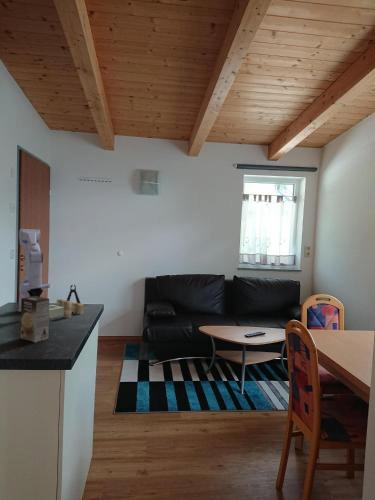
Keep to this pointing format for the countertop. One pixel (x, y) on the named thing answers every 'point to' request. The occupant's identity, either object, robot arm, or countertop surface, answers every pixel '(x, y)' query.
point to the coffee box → (34, 318)
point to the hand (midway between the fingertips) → (34, 304)
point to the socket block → (55, 311)
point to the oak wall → (75, 307)
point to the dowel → (67, 309)
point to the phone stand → (75, 294)
